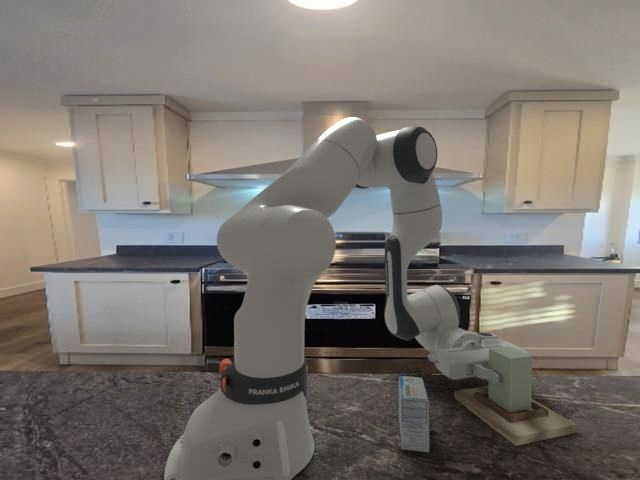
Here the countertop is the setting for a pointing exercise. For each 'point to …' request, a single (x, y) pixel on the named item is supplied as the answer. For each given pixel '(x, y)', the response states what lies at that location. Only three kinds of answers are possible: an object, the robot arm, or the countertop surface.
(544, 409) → the birch board
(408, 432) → the medicine box
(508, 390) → the sage block
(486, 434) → the countertop surface
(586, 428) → the countertop surface
